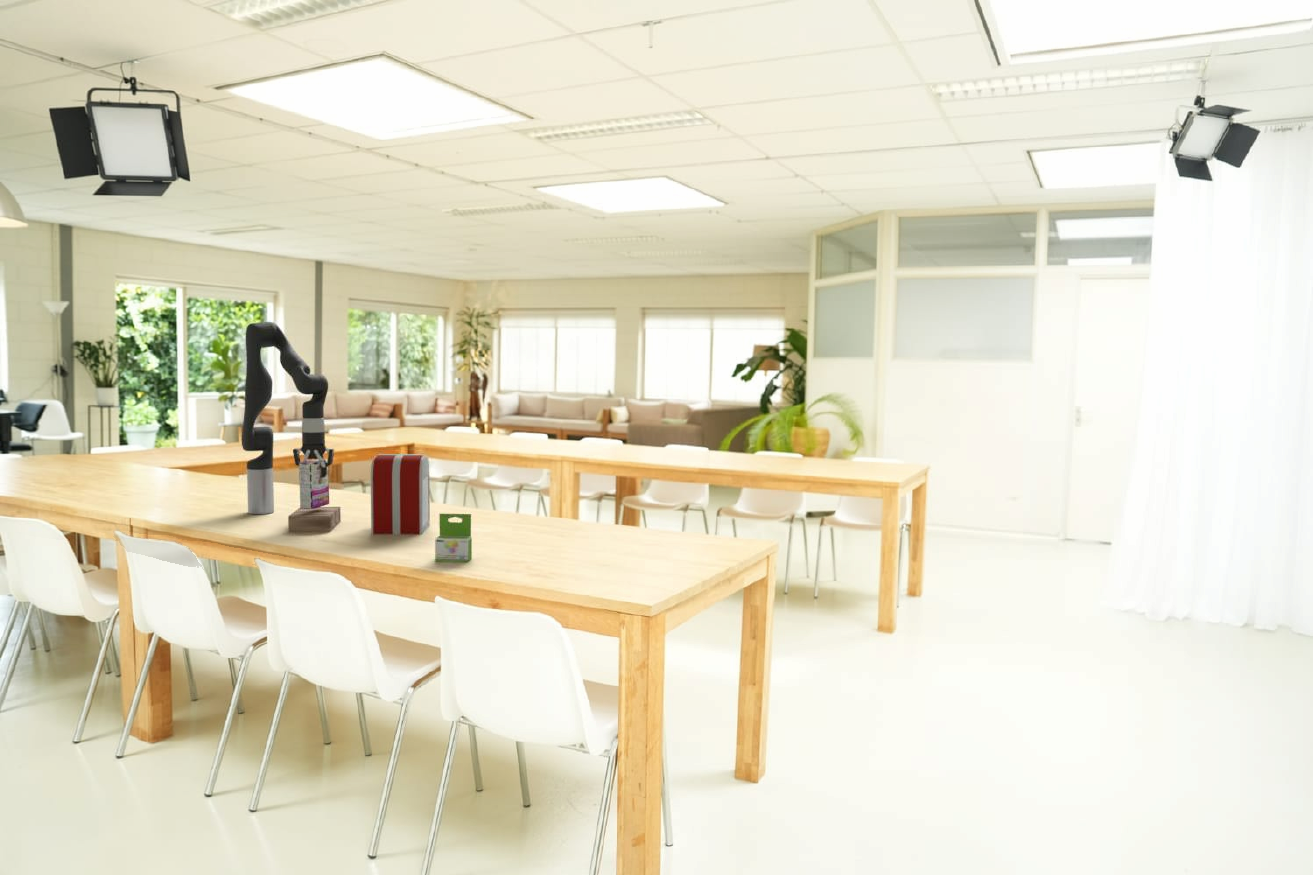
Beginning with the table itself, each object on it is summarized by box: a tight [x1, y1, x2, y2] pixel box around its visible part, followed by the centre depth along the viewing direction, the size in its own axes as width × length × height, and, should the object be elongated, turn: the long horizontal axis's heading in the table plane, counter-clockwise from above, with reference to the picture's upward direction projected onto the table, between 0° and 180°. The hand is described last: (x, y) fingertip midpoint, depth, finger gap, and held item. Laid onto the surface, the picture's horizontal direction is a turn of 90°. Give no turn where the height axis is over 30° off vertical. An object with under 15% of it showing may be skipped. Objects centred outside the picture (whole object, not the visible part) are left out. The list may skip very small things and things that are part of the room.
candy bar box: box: [298, 459, 330, 509], centre depth 310 cm, size 11×5×16 cm, turn 168°
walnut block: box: [287, 506, 342, 533], centre depth 312 cm, size 18×14×6 cm
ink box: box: [434, 513, 473, 563], centre depth 267 cm, size 10×5×14 cm, turn 90°
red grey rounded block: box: [370, 453, 431, 535], centre depth 309 cm, size 16×18×27 cm
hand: (314, 477), depth 310 cm, fingers closed on candy bar box, 6 cm apart
